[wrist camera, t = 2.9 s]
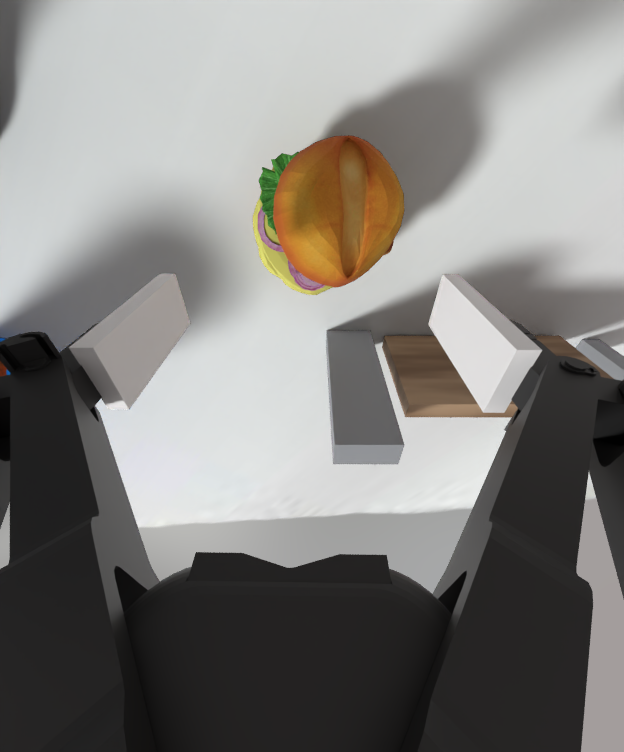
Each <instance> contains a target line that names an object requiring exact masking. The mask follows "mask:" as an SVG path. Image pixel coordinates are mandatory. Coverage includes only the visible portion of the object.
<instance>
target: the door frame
mask: <svg viewBox="0 0 624 752" xmlns="http://www.w3.org/2000/svg"><path fill="white" fill-rule="evenodd" d="M576 349H577V350H578V351H579V352H581V353H582V354H583V355H585V356H586V357H587V358H588V359H590V360H591V361H592V362H593V363H595V364H596V365H597V366H598V367H600V368H601V369H602V370H603V371H605V372H606V373H607V374H609V375H610V376H611V377H612V378H614V379H615V380H621V381H623V379H624V356H622V355H621V354H620V353H618V352H617V351H615V350H614V349H612V348H611V347H609V346H608V345H607V344H605V343H604V342H602V341H601V340H599V339H582V340H581V342H580V343H579V345H578V346H577V348H576ZM326 353H327V370H328V386H329V403H330V420H331V437H332V453H333V464H398V463H399V460H400V457H401V454H402V451H403V448H404V442H403V439H402V435H401V432H400V429H399V425H398V422H397V419H396V415H395V412H394V409H393V405H392V402H391V399H390V395H389V392H388V388H387V385H386V382H385V378H384V375H383V372H382V368H381V365H380V362H379V358H378V355H377V352H376V348H375V345H374V342H373V338H372V335H371V331H327V339H326Z"/></svg>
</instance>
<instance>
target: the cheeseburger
mask: <svg viewBox="0 0 624 752" xmlns="http://www.w3.org/2000/svg"><path fill="white" fill-rule="evenodd" d="M271 161H272V164H273V169H272V170H269V169H266V168H264V167H262V170H263V172H262V175H261V177H260V179H259V183H260V187H261V190H262V191H261V195H260V198H259V200H258V202H257V205H256V208H255V211H254V214H253V229H254V234H255V238H256V242H257V245H258V247H259V256H260V258H261V260H262V262H263V264H264V266H265V267H266V268H267V269H268V270H269V272H270V273H272V274H274V275H276V276H277V277H279V278H280V279H282V280H283V282H284V283H285V284H286V285H287V286H289V287H290V288H292V289H293V290H296V291H298V292H301V293H304V294H308V295H317V294H319V293H321V292H323V291H326V290H328V289H330V288H332V287H340V286H343V285H346V284H348V283H350V282H352V281H354V280H356V279H358V278H359V277H360V276H362V275H363V274H364V273H366V272H367V271H368V270H369V269H370V268H371V267H372V266H373V265H374V264H375V263H376V262H377V261H378V260H379V259H380V258H381V257H382V256H383V255H385V254H388V253H389V252H390V251H391V249H392V246H393V240H394V238H395V236H396V234H397V233H398V231H399V228H400V226H401V222H402V218H403V214H404V195H403V191H402V189H401V186H400V184H399V181H398V178H397V176H396V175H395V173H394V171H393V170H392V168H391V167H390V165H389V163H388V162H387V161H386V159H385V158H384V157H383V155H382V154H381V153H380V152H379V151H378V150H377V149H376V148H375V147H373V146H372V145H371V144H370V143H369V142H367V141H365V140H363V139H360V138H358V137H355V136H334V137H330V138H327V139H324V140H321V141H318V142H316V143H314V144H312V145H310V146H309V147H307V148H305V149H304V150H302V151H300V152H297V153H295V154H294V155H292V156H291V155H287V154H283V153H282V154H281V155H279V156H278V157H277V158H276V159H272V160H271Z"/></svg>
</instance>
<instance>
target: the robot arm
mask: <svg viewBox="0 0 624 752" xmlns="http://www.w3.org/2000/svg"><path fill="white" fill-rule="evenodd" d="M190 324H191V323H190V320H189V317H188V313H187V310H186V307H185V304H184V300H183V297H182V294H181V290H180V287H179V284H178V280H177V277H176V274H159V275H158V276H156V277H155V278H154V279H153V280H151V281H150V282H149V283H148V284H146V285H145V286H144V287H143V288H142V289H140V290H139V291H138V292H137V293H135V294H134V295H133V296H132V297H130V298H129V299H128V300H127V301H126V302H124V303H123V304H122V305H121V306H119V307H118V308H117V309H116V310H115V311H113V312H112V313H111V314H110V315H108V316H107V317H106V318H105V319H103V320H102V321H101V322H99V323H97V324H95V325H94V326H92V327H91V328H90V329H89V330H87V331H86V333H84V334H82V335H81V336H80V337H79V339H76V340H75V341H74V342H72V343H71V344H70V345H69V346H67V347H66V348H65V349H64V350H62V351H61V352H60V353H59V352H58V351H57V349H56V348H55V346H54V345H53V343H52V342H51V340H50V339H49V337H48V336H47V335H46V334H45V333H42V332H29V333H24V334H19V335H16V336H13V337H10V338H8V339H5V340H3V341H1V342H0V361H1V362H2V364H3V365H4V366H5V367H6V368H7V369H8V371H9V372H10V375H5V376H0V527H1V525H2V522H3V519H4V516H5V513H6V510H7V508H8V505H9V502H10V560H9V564H8V565H7V566H5V567H3V568H1V569H0V752H581V743H582V731H583V719H584V707H585V695H586V694H585V693H586V682H587V670H588V658H589V646H590V634H591V622H592V610H593V596H592V595H593V594H592V589H591V587H590V585H589V583H588V582H587V581H585V580H584V579H582V578H581V577H579V576H578V575H577V573H576V565H577V556H578V549H579V542H580V534H581V526H582V518H583V510H584V503H585V495H586V488H587V480H588V472H590V476H591V480H592V483H593V487H594V491H595V494H596V498H597V502H598V505H599V509H600V513H601V516H602V520H603V524H604V528H605V531H606V535H607V539H608V542H609V546H610V550H611V553H612V557H613V561H614V564H615V568H616V572H617V576H618V579H619V583H620V587H621V590H622V594H623V598H624V379H623V381H621V380H615V379H610V378H605V377H601V375H600V372H599V371H598V370H597V369H596V368H595V367H593V366H592V365H590V364H588V363H587V362H584V361H582V360H579V359H577V358H572V357H568V356H556V355H555V354H554V353H553V352H552V351H550V350H549V349H548V348H547V347H546V346H545V345H544V344H542V343H541V342H540V341H539V340H537V338H536V337H534V336H533V335H532V334H530V332H529V331H528V330H526V329H525V328H524V327H523V326H522V325H520V324H518V323H516V322H514V321H512V320H508V319H507V318H506V317H505V316H504V315H503V314H502V313H501V312H500V311H499V310H497V309H496V308H495V307H494V306H493V305H492V304H491V303H490V302H489V301H488V300H486V299H485V298H484V297H483V296H482V295H481V294H480V293H479V292H478V291H477V290H475V289H474V288H473V287H472V286H471V285H470V284H469V283H468V282H467V281H465V280H464V279H463V278H462V277H461V276H460V275H459V274H443V275H442V278H441V282H440V285H439V289H438V292H437V296H436V299H435V303H434V306H433V310H432V313H431V317H430V320H429V324H428V325H429V326H430V328H431V330H432V331H433V333H434V334H435V336H436V338H437V339H438V341H439V342H440V344H441V346H442V347H443V349H444V350H445V352H446V354H447V355H448V357H449V358H450V360H451V362H452V363H453V365H454V367H455V368H456V370H457V371H458V373H459V375H460V376H461V378H462V379H463V381H464V383H465V384H466V386H467V387H468V389H469V391H470V392H471V394H472V395H473V397H474V399H475V400H476V402H477V403H478V405H479V407H480V408H481V410H482V411H483V413H504V412H505V411H506V409H507V407H508V406H509V404H510V402H511V401H513V402H514V404H515V405H516V406H517V407H518V409H517V411H516V412H515V414H514V415H513V417H512V418H511V420H510V421H509V423H508V425H507V426H506V428H505V429H504V430H505V431H506V433H505V436H504V438H503V440H502V443H501V445H500V447H499V449H498V452H497V454H496V456H495V459H494V461H493V463H492V466H491V468H490V470H489V472H488V475H487V477H486V479H485V482H484V484H483V486H482V489H481V491H480V493H479V495H478V498H477V500H476V502H475V505H474V507H473V509H472V512H471V514H470V516H469V518H468V521H467V523H466V526H465V528H464V530H463V532H462V534H461V537H460V539H459V541H458V544H457V546H456V548H455V551H454V553H453V555H452V557H451V560H450V562H449V564H448V566H447V569H446V571H445V573H444V575H443V576H442V578H441V579H440V581H439V583H438V585H437V587H436V589H435V590H434V592H433V594H432V593H430V592H429V591H428V590H427V589H425V588H424V587H423V586H421V585H420V584H419V583H417V582H416V581H414V580H412V579H411V578H409V577H407V576H405V575H403V574H401V573H399V572H397V571H394V570H391V569H389V567H388V560H387V555H345V554H344V555H343V554H340V555H336V556H333V557H329V558H326V559H322V560H319V561H315V562H312V563H308V564H305V565H302V566H298V567H294V568H286V567H283V566H280V565H277V564H274V563H271V562H268V561H265V560H261V559H258V558H255V557H252V556H250V555H247V554H244V553H202V552H198V553H197V552H196V554H195V557H194V561H193V564H192V567H189V568H186V569H184V570H181V571H179V572H177V573H174V574H172V575H171V576H169V577H167V578H165V579H163V580H162V581H161V582H160V581H159V579H158V578H157V576H156V574H155V573H154V571H153V569H152V567H151V565H150V562H149V560H148V557H147V554H146V551H145V548H144V545H143V542H142V539H141V536H140V533H139V530H138V527H137V524H136V521H135V518H134V515H133V512H132V509H131V506H130V503H129V500H128V497H127V494H126V491H125V488H124V485H123V482H122V479H121V476H120V473H119V470H118V467H117V464H116V460H115V457H114V454H113V451H112V448H111V445H110V442H109V439H108V436H107V433H106V430H105V427H104V424H103V421H102V418H101V415H100V412H99V411H98V410H97V408H96V407H95V404H96V403H97V402H98V401H99V400H100V399H101V398H102V400H103V401H104V403H105V405H106V406H107V408H108V409H109V410H129V409H130V408H131V406H132V405H133V404H134V402H135V401H136V399H137V398H138V397H139V395H140V394H141V392H142V391H143V390H144V388H145V387H146V385H147V384H148V383H149V381H150V380H151V378H152V377H153V375H154V374H155V373H156V371H157V370H158V368H159V367H160V366H161V364H162V363H163V361H164V360H165V359H166V357H167V356H168V354H169V353H170V352H171V350H172V349H173V347H174V346H175V345H176V343H177V342H178V340H179V339H180V338H181V336H182V335H183V333H184V332H185V331H186V329H187V328H188V326H189V325H190Z"/></svg>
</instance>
